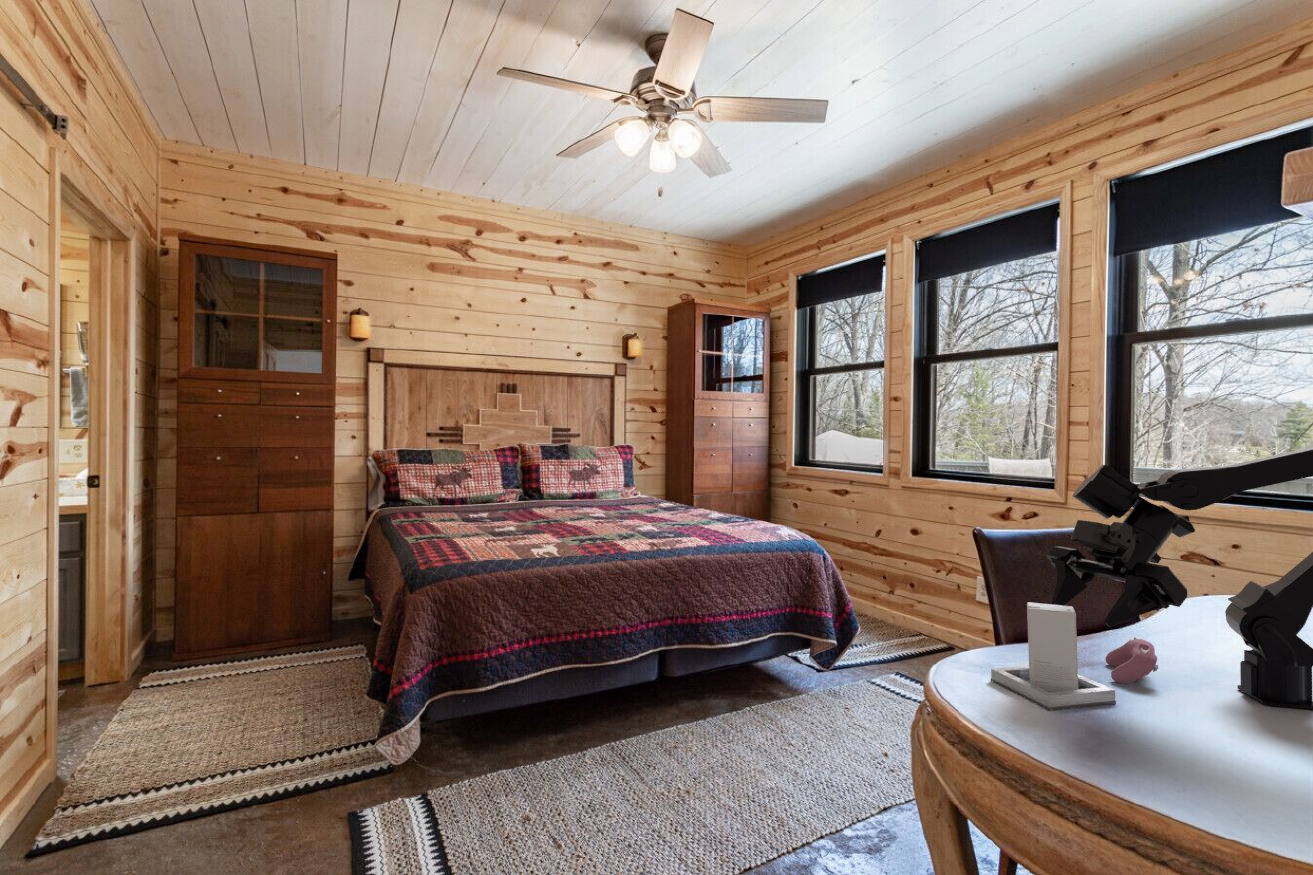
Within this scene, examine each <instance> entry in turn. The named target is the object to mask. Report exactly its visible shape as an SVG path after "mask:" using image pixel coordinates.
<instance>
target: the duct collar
mask: <svg viewBox="0 0 1313 875" xmlns="http://www.w3.org/2000/svg"><path fill="white" fill-rule="evenodd" d="M990 669H991V670H990V676H991V677H990V682H992V681H993V682H992V683H994V684H996V685H998V686H999V687H1002V688H1004V689H1005V690H1007V691H1009V692H1011V693H1014V694H1016V695H1017V696H1020V697H1021V698H1024V699H1025V700H1027V701H1029V702H1031V703H1033V704H1035V705H1037V706H1039V707H1041V708H1042V709H1045V710H1047V711H1049V712H1050V711H1058V710H1068V709H1077V708H1086V707H1087V708H1088V707H1095V706H1097V707H1098V706H1106V705H1107V706H1108V705H1115V704H1116V705H1117V700H1116V689H1115V688H1112V687H1109V686H1107V685H1104V684H1103V683H1099V682H1097V681H1094V680H1092V679H1091V678H1088V677H1085V676H1083V675H1080V674H1078V690H1068V691H1058V692H1047V691H1045V690H1043V689H1041V688H1039V687H1037V686H1035V685H1033V684H1030V676H1029V664H1028V665H1017V666H1016V665H1015V666H1008V667H1007V666H1005V667H995V668H993V667H992V668H990Z"/></svg>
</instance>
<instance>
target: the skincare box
mask: <svg viewBox="0 0 1313 875" xmlns="http://www.w3.org/2000/svg"><path fill="white" fill-rule="evenodd" d="M1026 610H1027V612H1026V615H1027V616H1026V617H1027V618H1026V619H1027V640H1028V641H1027V644H1028V647H1027V648H1028V665H1029V676H1030V684H1033V685H1035V686H1037V687H1039V688H1041V689H1043V690H1045V691H1047V692H1058V691H1068V690H1078V675H1079V673H1078V672H1079V671H1078V669H1079V668H1078V666H1079V665H1078V637H1077V636H1078V635H1077V613H1076V610H1075V609H1074V607H1073V606H1072V605H1071V606H1070V605H1064V606H1062V605H1052V604H1051V603H1050V604H1049V603H1039V602H1031V601H1029V602H1026Z"/></svg>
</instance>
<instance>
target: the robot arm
mask: <svg viewBox="0 0 1313 875" xmlns="http://www.w3.org/2000/svg"><path fill="white" fill-rule="evenodd" d="M1311 477H1313V446H1310V447H1306V448H1302V449H1297V450H1292V451H1287V452H1284V453H1280V454H1279V453H1278V454H1275V455H1270V456H1266V457H1261V458H1258V459H1253V460H1248V461H1243V462H1240V463H1235V464H1231V465H1223V466H1207V467H1196V468H1195V467H1194V468H1180V469H1173V470H1168V471H1166V472H1164V473H1162V474H1161V475H1160V476H1159V478H1158V479H1157V480H1151V481H1146V482H1140V483H1137V484H1135V483H1133V482H1132V481H1130V480H1129V479H1127V478H1126V477H1124V476H1122V475H1121V474H1119V473H1118V472H1117V471H1116V470H1115V469H1114V468H1112V467H1111V466H1109V465H1107V464H1102V465H1101V466H1100V467H1099V468H1098V469H1096V471H1095V472H1093V473H1092V474H1091V475H1090V476H1089V477H1088V478H1085V479H1084V480H1083V481H1082V482H1081V483H1080V485H1079V486H1078V487H1077V488H1076V489H1075V491H1074V492H1073V494H1072V498H1074V499H1075V500H1077V501H1079V503H1081V504H1083V505H1085V506H1087V507H1088V508H1089V509H1090V510H1092V511H1094V512H1095V513H1097V514H1098V515H1100V516H1101V517H1103V518H1104V519H1106V520H1108V519H1110V518H1112V517H1113V516H1114V517H1115V518H1116V519H1121V518H1122V517H1123V516H1124V515H1126V514H1127V516H1126V517H1125V518H1124V520H1123V521H1122V522H1120V521H1119V522H1118V521H1113V522H1112V523H1111V524H1107V523H1101V522H1097V521H1089V520H1083V519H1082V520H1081V519H1078V520H1076V523H1075V526H1074V529H1073V532H1072V534H1071V537H1070V540H1071V541H1073V542H1075V543H1076V542H1077V543H1078V544H1079V543H1080V544H1082V545H1083V546H1086V547H1087V549H1086V552H1087V553H1088V554H1089V555H1090V556H1091V557H1094V560H1089V559H1088V558H1086V557H1085V555H1083V554H1082V552H1080V550H1079V549H1076V548H1070V547H1064V546H1053V547H1052V549H1051V550H1049V552H1048V553H1047V555H1046V557H1047V558H1046V559H1048V560H1049V562H1050V563H1051V565H1052V566H1053V567H1054V568H1055V569H1056V581H1055V586H1054V591H1053V594H1052V598H1051V603H1050V604H1052V605H1062V606H1067V604H1068V603H1069V602H1071V601H1072V600H1073V599H1074V598H1076V597H1078V596H1079V594H1081V593H1082V592H1083V591H1085V590H1086V589H1087V588H1088V585H1087V584H1086V583H1089V582H1091V581H1092V580H1093V579H1094V578H1095V576H1098V577H1101V578H1102V577H1103V578H1106V579H1111V580H1114V581H1118V582H1123V583H1124V590H1123V592H1122V593H1121V594H1120V596H1119V597H1118V599H1117V600H1116V602H1115V603H1114V604H1113V605H1112V608H1111V609H1110V611H1109V612H1108V614H1107V616H1106V617H1105V620H1104V624H1105V625H1106V626H1107V627H1109V628H1112V627H1114V626H1116V625H1119V624H1121V623H1124V622H1128V621H1129V620H1132V619H1133V618H1137V617H1139V616H1142V615H1145V614H1147V613H1151V612H1153V611H1157V610H1161V609H1166V610H1167V609H1169V608H1170V606H1173V607H1177V608H1180V607H1181V606H1182V605H1183V603H1184V602H1185V601H1186V599H1187V598H1188V589H1187V587H1186V585H1184V583H1183V582H1182V581H1181V580H1180V578H1178V576H1177V575H1176V574H1175V573H1174V571H1173V570H1172V569H1171V568H1170V567H1169V566H1167V565H1162V564H1159V563H1160V561H1161V560H1162V558H1163V557H1161V556H1160V555H1159V554H1158V552H1159V551H1160V549H1161V548H1162V547H1163V545H1164V544H1165V543H1166V542H1167V540H1168V539H1169V538H1170V536H1171V535H1172V534H1173V535H1175V536H1176V537H1178V538H1182V537H1185V536H1188V535H1191V534H1193V533H1195V532H1196V529H1195V527H1194V524H1193V523H1192V522H1191V521H1190V516H1188V515H1183V516H1182V515H1178V514H1177V513H1175V512H1173V511H1172V510H1170V509H1169V508H1168V507H1166V506H1164V505H1163V504H1162V505H1161V504H1160V505H1157V504H1155V503H1153V502H1150V501H1148V500H1151V501H1154V502H1163V503H1164V504H1166V505H1169V506H1171V507H1174V508H1176V509H1178V510H1183V511H1197V510H1201V509H1203V508H1207V507H1208V506H1211V505H1212V506H1213V505H1214V504H1217V503H1220V502H1223V501H1224V500H1226V499H1229V498H1231V497H1233V496H1235V495H1237V494H1240V493H1243V492H1246V491H1250V490H1253V489H1259V488H1264V487H1268V486H1273V485H1278V484H1282V483H1288V482H1292V481H1296V480H1302V479H1306V478H1311ZM1144 498H1145V499H1144ZM1130 510H1131V511H1130ZM1128 512H1129V513H1128ZM1227 600H1228V601H1229V602H1230V603H1229V605H1228V606H1227V607H1226V609H1225V611H1224V613H1225V620H1226V623H1227V624H1228V626H1229V628H1231V629H1232V630H1233V631H1234V632H1235V633H1236V634H1237V635H1239V636H1240V637H1241V638H1242V640H1243V642H1244V644H1245V645H1246V646H1247V647H1249V648H1250V649H1244V650H1243V660H1241V661H1240V663H1239V664H1240V668H1239V669H1240V670H1239V671H1240V684H1237V690H1239V691H1241V692H1243V693H1245V694H1246V695H1248V696H1249V697H1251V698H1253V699H1254V700H1256V701H1258V702H1259V703H1261V704H1262V705H1265V706H1272V707H1274V706H1275V707H1285V708H1296V709H1307V710H1313V647H1311V645H1309V644H1308V643H1307V642H1306V641H1304V640H1303V639H1302V638H1300V637H1299V636H1298V634H1299V633H1300V632H1301V631H1302V630H1303V628H1304V627H1305V625H1306V624H1307V621H1308V619H1309V617H1310V615H1311V612H1312V609H1313V551H1312V552H1310V553H1309V554H1308V555H1307V556H1305V558H1303V559H1302V560H1301V561H1300V562H1299V563H1297V564H1296V565H1295V566H1293V568H1291V569H1290V570H1289V571H1287V573H1286V574H1284V575H1283V576H1282V577H1281V578H1280V579H1278V580H1277V581H1274V582H1272V583H1270V584H1269V583H1268V584H1266V585H1265V586H1262V585H1260V584H1258V583H1256V582H1254V581H1253V580H1251V581H1249V582H1248V583H1247V584H1245V586H1244V587H1243V588H1242V590H1241V591H1239V593H1237V594H1236V595H1234V596H1230V597H1228V598H1227Z"/></svg>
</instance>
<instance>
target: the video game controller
mask: <svg viewBox="0 0 1313 875" xmlns="http://www.w3.org/2000/svg"><path fill="white" fill-rule="evenodd" d="M1104 660H1105V662H1106V664H1107V665H1108V666H1110V667H1115V668H1113V670H1111V674H1110V678H1111V679H1112V680H1113V681H1114V682H1116V683H1117V684H1118V683H1119V684H1129V683H1132V682H1133V683H1134V682H1135V681H1137V682H1140V681H1141V680H1142V679H1143V678H1144V677H1146V676H1148V675H1149V674H1150V673H1151V672H1153V673H1154V672H1157V671H1158V670H1159V664H1157V662H1158V656H1157V655H1156V653H1155V646H1154V645H1153V644H1152V643H1151V642H1150V641H1147V640H1145V639H1142V638H1137V637H1136V636H1135V637H1134V638H1133V639H1129V640H1128V641H1127V642H1125V643H1124V644H1123V645H1121V646H1119V647H1117V648H1115V649H1113V650H1111V651H1109V652H1108V653H1107V654H1106V656H1105V659H1104Z"/></svg>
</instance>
